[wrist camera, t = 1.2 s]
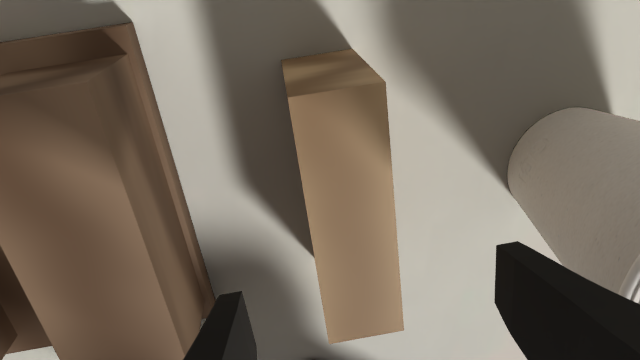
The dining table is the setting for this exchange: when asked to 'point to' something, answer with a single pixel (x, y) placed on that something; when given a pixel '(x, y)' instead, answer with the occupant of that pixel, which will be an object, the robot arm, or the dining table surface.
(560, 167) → the dixie cup
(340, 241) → the tall tan pillar
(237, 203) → the dining table surface
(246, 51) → the dining table surface
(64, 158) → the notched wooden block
